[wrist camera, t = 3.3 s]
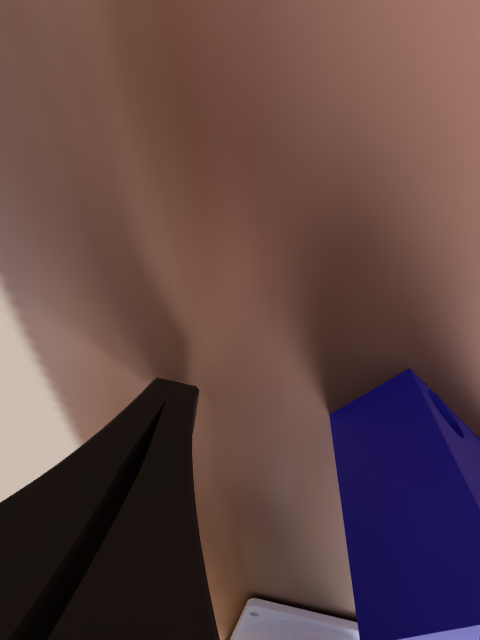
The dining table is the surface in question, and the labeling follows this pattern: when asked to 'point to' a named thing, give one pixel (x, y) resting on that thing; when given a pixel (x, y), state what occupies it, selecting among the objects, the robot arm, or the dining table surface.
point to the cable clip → (410, 513)
